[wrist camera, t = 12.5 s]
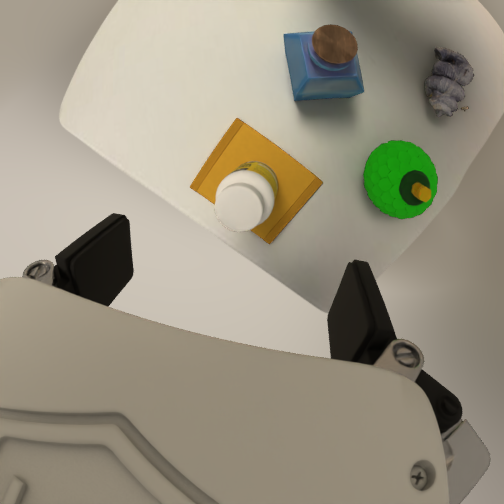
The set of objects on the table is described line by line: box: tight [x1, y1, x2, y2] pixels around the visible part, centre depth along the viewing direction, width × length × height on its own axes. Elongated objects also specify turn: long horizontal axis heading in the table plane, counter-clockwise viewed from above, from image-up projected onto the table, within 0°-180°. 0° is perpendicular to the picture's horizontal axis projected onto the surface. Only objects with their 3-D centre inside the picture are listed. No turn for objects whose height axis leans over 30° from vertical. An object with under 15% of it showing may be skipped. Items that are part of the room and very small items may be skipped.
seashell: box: [425, 47, 474, 117], centre depth 19 cm, size 5×5×10 cm
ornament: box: [363, 140, 438, 219], centre depth 23 cm, size 8×8×10 cm
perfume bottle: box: [284, 25, 364, 101], centre depth 18 cm, size 6×6×12 cm
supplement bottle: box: [215, 161, 278, 232], centre depth 26 cm, size 5×5×10 cm
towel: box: [190, 118, 323, 244], centre depth 30 cm, size 12×10×1 cm
